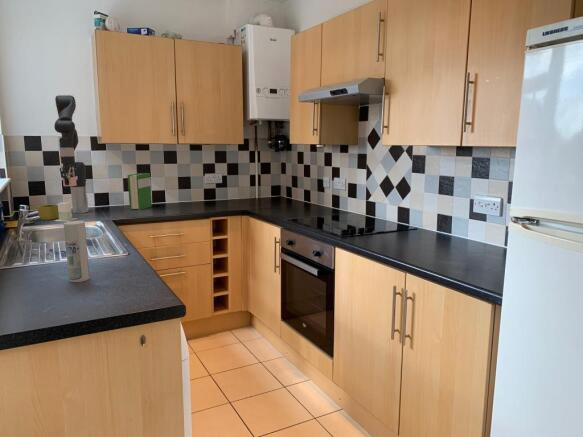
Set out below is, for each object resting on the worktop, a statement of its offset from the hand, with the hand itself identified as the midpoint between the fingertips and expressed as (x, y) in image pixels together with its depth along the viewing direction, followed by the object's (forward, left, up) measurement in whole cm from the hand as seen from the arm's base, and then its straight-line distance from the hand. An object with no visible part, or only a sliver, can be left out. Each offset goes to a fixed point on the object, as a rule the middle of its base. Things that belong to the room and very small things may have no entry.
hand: (69, 184), depth 260 cm
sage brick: (+2, -3, -21) cm, 21 cm away
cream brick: (+2, -3, -16) cm, 16 cm away
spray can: (+106, +71, -22) cm, 129 cm away
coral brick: (0, 0, -1) cm, 1 cm away
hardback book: (-52, +18, -22) cm, 59 cm away
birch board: (+3, -3, -22) cm, 22 cm away
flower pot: (+2, -14, -22) cm, 26 cm away
